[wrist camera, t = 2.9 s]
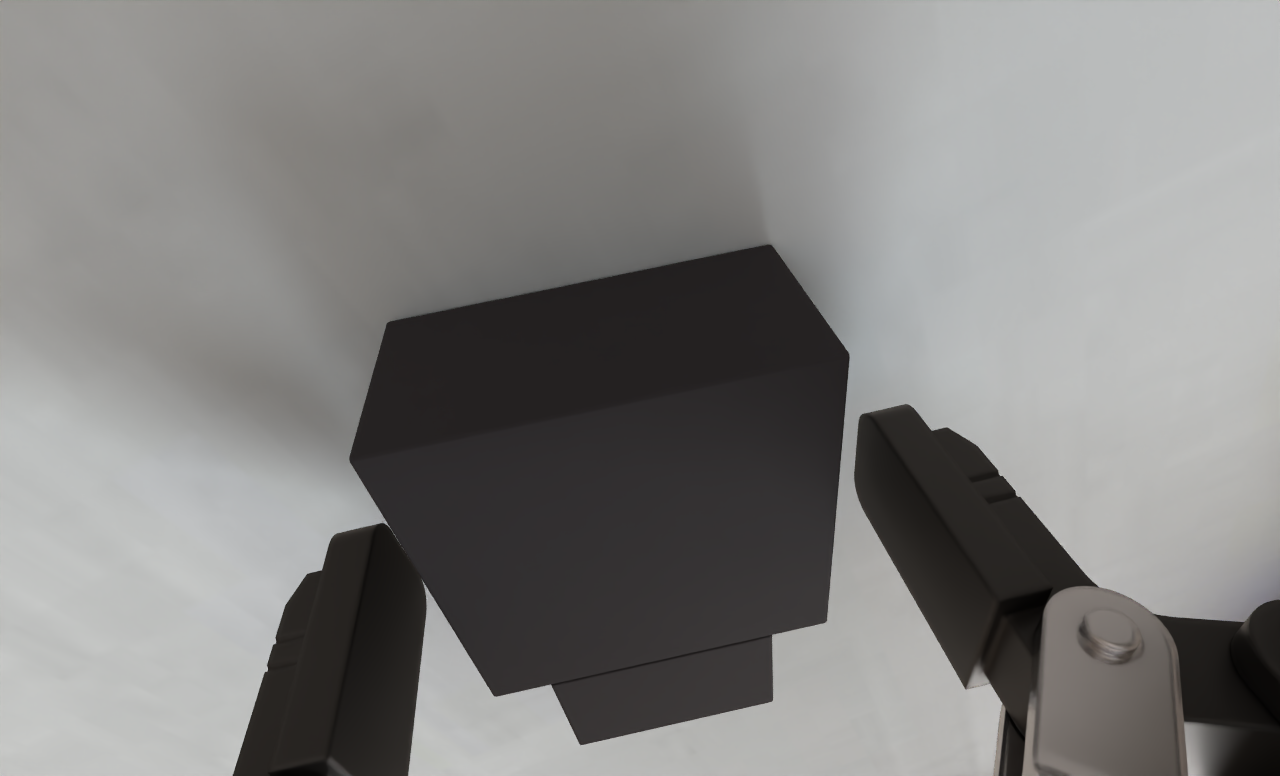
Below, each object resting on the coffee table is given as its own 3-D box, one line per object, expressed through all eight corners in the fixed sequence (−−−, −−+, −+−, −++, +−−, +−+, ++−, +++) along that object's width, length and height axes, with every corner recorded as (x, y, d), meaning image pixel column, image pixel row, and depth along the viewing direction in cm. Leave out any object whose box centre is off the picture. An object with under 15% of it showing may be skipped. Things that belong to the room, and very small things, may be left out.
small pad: (385, 320, 10) (345, 460, 7) (771, 242, 10) (851, 353, 8) (527, 623, 15) (530, 758, 13) (774, 568, 15) (821, 691, 13)
